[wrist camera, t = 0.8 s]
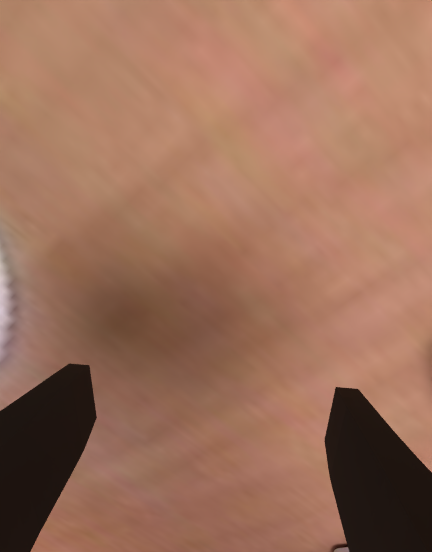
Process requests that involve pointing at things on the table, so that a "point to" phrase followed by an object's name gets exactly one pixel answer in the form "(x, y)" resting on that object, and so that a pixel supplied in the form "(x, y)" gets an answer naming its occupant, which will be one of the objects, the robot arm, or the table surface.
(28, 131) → the table surface
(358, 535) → the robot arm
